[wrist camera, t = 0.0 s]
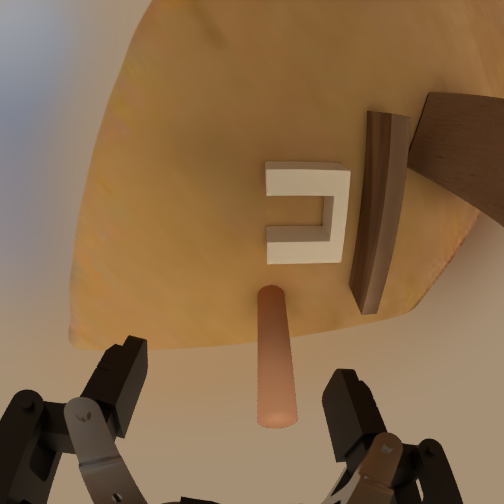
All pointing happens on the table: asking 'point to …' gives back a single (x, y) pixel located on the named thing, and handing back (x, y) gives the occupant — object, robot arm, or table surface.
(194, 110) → the table surface
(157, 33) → the table surface
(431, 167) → the wooden block
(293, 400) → the dowel
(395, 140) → the wall
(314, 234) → the notched block
